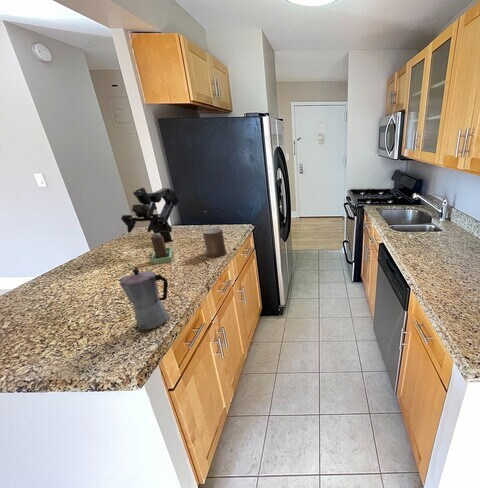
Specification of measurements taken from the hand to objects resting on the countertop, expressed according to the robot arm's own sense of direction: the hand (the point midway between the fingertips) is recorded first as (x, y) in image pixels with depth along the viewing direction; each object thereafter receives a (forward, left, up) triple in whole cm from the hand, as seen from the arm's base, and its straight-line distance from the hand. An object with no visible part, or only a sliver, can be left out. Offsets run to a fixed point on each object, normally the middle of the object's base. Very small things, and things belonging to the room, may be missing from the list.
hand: (138, 232), depth 132 cm
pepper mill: (-5, +11, -14) cm, 18 cm away
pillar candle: (-28, +23, -15) cm, 39 cm away
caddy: (-6, +7, -14) cm, 17 cm away
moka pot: (+14, +63, -15) cm, 66 cm away
